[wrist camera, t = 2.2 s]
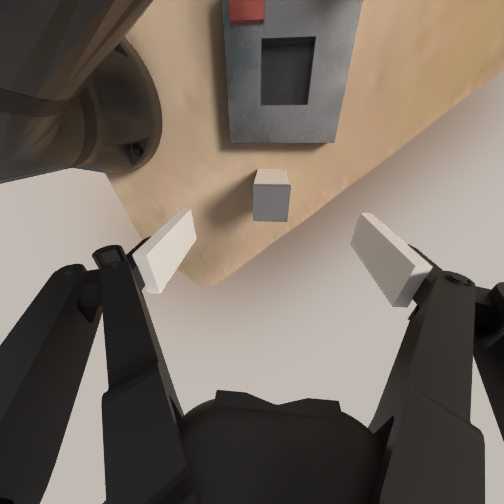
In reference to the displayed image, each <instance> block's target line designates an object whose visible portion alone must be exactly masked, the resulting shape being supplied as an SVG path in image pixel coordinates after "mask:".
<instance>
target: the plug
mask: <svg viewBox="0 0 504 504" xmlns="http://www.w3.org/2000/svg"><path fill="white" fill-rule="evenodd" d="M290 189H291V186H290V183H289V180H288V177H287V174H286V171H285V169H258V171H257V174H256V178H255V181H254V185H253V221H272V222H287V219H288V209H289V199H290Z"/></svg>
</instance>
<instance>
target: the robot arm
mask: <svg viewBox="0 0 504 504" xmlns="http://www.w3.org/2000/svg"><path fill="white" fill-rule="evenodd" d="M152 1H153V0H0V184H1V183H5V182H10V181H14V180H19V179H23V178H27V177H32V176H37V175H41V174H46V173H50V172H55V171H59V170H63V169H68V168H78V169H84V170H91V171H97V172H103V173H123V172H127V171H130V170H133V169H136V168H139V167H141V166H143V165H144V164H146V163H147V162H148V161H149V160H150V159H151V158H152V157H153V155H154V154H155V152H156V150H157V148H158V145H159V142H160V139H161V133H162V113H161V106H160V101H159V97H158V94H157V90H156V88H155V85H154V82H153V80H152V78H151V75H150V73H149V71H148V69H147V68H146V66H145V64H144V62H143V61H142V59H141V57H140V56H139V55H138V53H137V52H136V50H135V49H134V48H133V46H132V45H131V44H130V43H129V42H128V41H127V39H126V38H125V35H126V34H127V33H128V32H129V30H130V29H131V28H132V27H133V25H134V24H135V23H136V22H137V20H138V19H139V18H140V17H141V15H142V14H143V13H144V12H145V10H146V9H147V8H148V7H149V5H150V4H151V3H152ZM195 241H196V234H195V229H194V223H193V218H192V213H191V209H181V210H180V211H179V212H178V213H176V214H175V215H174V216H173V217H172V218H171V219H170V220H169V221H168V222H167V223H166V224H165V225H164V226H162V227H161V228H160V229H159V230H158V231H157V232H156V233H155V234H154V235H153V236H150V237H148V238H146V239H144V240H142V241H141V242H140V243H139V244H138V245H137V246H136V247H135V248H134V249H132V250H131V251H130V252H129V253H128V254H127V255H125V253H124V250H123V248H122V247H121V246H119V245H110V246H106V247H103V248H100V249H98V250H96V251H95V252H94V253H93V254H92V257H93V259H94V260H95V262H96V264H97V266H98V268H99V269H97V270H90V271H87V270H86V268H85V267H84V266H83V265H82V264H73V265H67V266H65V267H62V268H60V269H59V270H57V271H55V272H54V273H53V274H52V276H51V277H50V278H49V280H48V281H47V282H46V284H45V285H44V286H43V288H42V289H41V290H40V292H39V293H38V295H37V296H36V297H35V299H34V300H33V301H32V303H31V304H30V306H29V307H28V308H27V310H26V311H25V312H24V314H23V315H22V316H21V318H20V319H19V321H18V322H17V323H16V325H15V326H14V327H13V329H12V330H11V332H10V333H9V334H8V336H7V337H6V339H5V340H4V341H3V342H2V344H1V345H0V504H40V502H41V499H42V497H43V495H44V492H45V490H46V488H47V485H48V483H49V480H50V477H51V474H52V471H53V468H54V466H55V463H56V460H57V457H58V453H59V450H60V447H61V443H62V441H63V437H64V434H65V431H66V428H67V424H68V421H69V418H70V414H71V412H72V408H73V405H74V402H75V399H76V396H77V392H78V389H79V386H80V382H81V379H82V376H83V373H84V370H85V366H86V363H87V360H88V357H89V353H90V350H91V347H92V344H93V341H94V338H95V334H96V331H97V328H98V325H99V321H100V318H101V315H102V312H103V322H104V335H105V347H106V359H107V370H108V384H109V389H108V391H107V392H106V393H104V394H103V396H102V424H103V443H104V462H105V463H104V464H105V484H106V501H105V502H104V503H103V504H485V443H484V437H483V434H482V432H481V431H480V429H478V428H477V427H475V426H474V425H472V424H471V423H470V408H471V385H472V363H473V362H472V361H473V356H474V359H475V361H476V364H477V367H478V370H479V373H480V376H481V379H482V381H483V384H484V387H485V390H486V393H487V395H488V398H489V401H490V404H491V407H492V409H493V413H494V415H495V418H496V421H497V424H498V427H499V429H500V432H501V435H502V438H503V441H504V282H501V283H498V284H496V285H495V287H494V288H493V289H492V290H490V289H486V288H481V287H476V286H475V283H474V282H472V281H471V280H470V279H468V278H467V277H465V276H463V275H460V274H458V273H454V272H450V271H443V270H442V269H440V268H439V267H438V266H437V265H436V264H435V263H433V262H432V261H431V260H430V259H428V258H427V257H426V256H425V255H423V253H421V252H420V251H419V250H418V249H416V248H414V247H412V246H411V245H409V244H406V243H405V242H404V241H403V240H401V239H400V238H399V237H398V236H397V235H396V234H395V233H393V232H392V231H391V230H390V229H389V228H388V227H386V226H385V225H384V224H383V223H382V222H381V221H380V220H378V219H377V218H376V217H375V216H374V215H373V214H372V213H360V216H359V219H358V222H357V225H356V228H355V231H354V235H353V238H352V241H351V246H352V247H353V249H354V250H355V251H356V253H357V255H358V256H359V258H360V259H361V261H362V262H363V263H364V265H365V266H366V268H367V269H368V271H369V272H370V274H371V275H372V277H373V278H374V280H375V281H376V283H377V284H378V286H379V287H380V289H381V290H382V292H383V293H384V295H385V296H386V298H387V299H388V301H389V302H390V303H391V305H392V307H393V306H394V307H408V305H409V304H410V302H411V301H412V299H413V300H414V301H415V302H416V304H417V306H416V307H415V309H414V310H413V312H412V313H411V315H410V316H409V318H408V320H410V322H409V325H408V327H407V330H406V333H405V335H404V338H403V341H402V343H401V346H400V349H399V351H398V354H397V357H396V359H395V362H394V365H393V367H392V370H391V373H390V375H389V378H388V381H387V384H386V386H385V389H384V392H383V394H382V397H381V400H380V402H379V405H378V408H377V410H376V413H375V415H374V418H373V420H372V421H371V423H370V425H369V427H368V428H367V427H366V426H364V425H363V424H362V423H361V422H359V421H358V420H356V419H355V418H353V417H352V416H350V415H348V414H346V413H344V412H341V409H340V405H339V401H332V400H322V399H311V398H307V399H302V400H298V401H293V402H289V403H285V404H281V405H275V404H272V403H270V402H267V401H265V400H262V399H260V398H258V397H255V396H253V395H250V394H248V393H244V392H233V391H223V390H217V392H216V397H215V399H213V400H209V401H207V402H204V403H202V404H200V405H198V406H196V407H195V408H193V409H192V410H190V411H189V412H188V413H187V414H185V415H184V414H183V411H182V409H181V406H180V403H179V401H178V398H177V396H176V393H175V390H174V386H173V384H172V380H171V378H170V374H169V372H168V369H167V365H166V362H165V359H164V356H163V353H162V350H161V347H160V345H159V342H158V338H157V335H156V332H155V329H154V326H153V323H152V320H151V317H150V314H149V312H148V308H147V306H146V302H145V299H144V296H143V293H142V291H141V290H142V289H143V288H144V286H146V289H147V291H148V293H158V294H160V293H161V292H162V291H163V289H164V287H165V286H166V285H167V283H168V282H169V280H170V278H171V277H172V275H173V274H174V272H175V271H176V269H177V268H178V266H179V265H180V263H181V262H182V260H183V259H184V257H185V256H186V254H187V253H188V251H189V250H190V248H191V247H192V245H193V244H194V242H195Z"/></svg>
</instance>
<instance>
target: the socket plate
mask: <svg viewBox="0 0 504 504" xmlns="http://www.w3.org/2000/svg"><path fill="white" fill-rule="evenodd" d="M362 1H363V0H222V9H223V26H224V43H225V60H226V77H227V94H228V111H229V128H230V143H334V142H335V136H336V131H337V126H338V121H339V116H340V111H341V106H342V101H343V96H344V91H345V86H346V81H347V76H348V71H349V66H350V61H351V56H352V51H353V46H354V41H355V36H356V31H357V26H358V21H359V16H360V11H361V6H362Z"/></svg>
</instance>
